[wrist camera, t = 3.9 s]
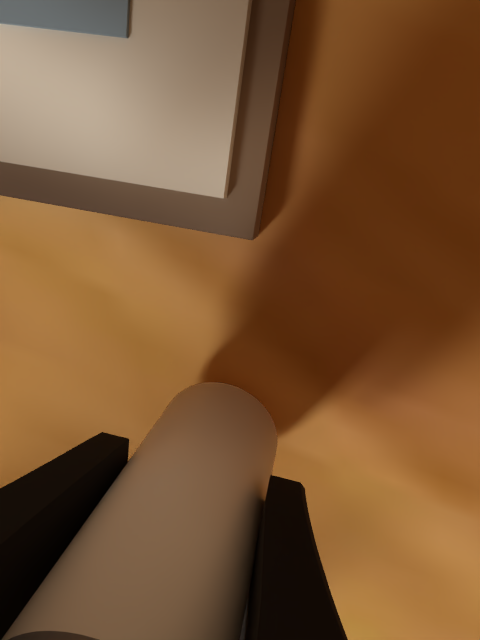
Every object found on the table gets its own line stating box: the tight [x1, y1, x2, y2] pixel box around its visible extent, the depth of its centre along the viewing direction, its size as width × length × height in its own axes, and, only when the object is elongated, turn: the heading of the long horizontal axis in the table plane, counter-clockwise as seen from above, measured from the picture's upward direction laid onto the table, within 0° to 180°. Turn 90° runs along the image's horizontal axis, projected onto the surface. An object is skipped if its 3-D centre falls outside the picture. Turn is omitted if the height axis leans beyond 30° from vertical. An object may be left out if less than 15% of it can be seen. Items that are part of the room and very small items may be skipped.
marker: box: [2, 382, 277, 640], centre depth 7 cm, size 3×3×8 cm
